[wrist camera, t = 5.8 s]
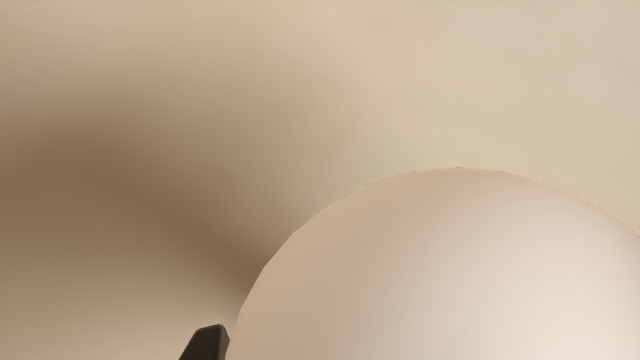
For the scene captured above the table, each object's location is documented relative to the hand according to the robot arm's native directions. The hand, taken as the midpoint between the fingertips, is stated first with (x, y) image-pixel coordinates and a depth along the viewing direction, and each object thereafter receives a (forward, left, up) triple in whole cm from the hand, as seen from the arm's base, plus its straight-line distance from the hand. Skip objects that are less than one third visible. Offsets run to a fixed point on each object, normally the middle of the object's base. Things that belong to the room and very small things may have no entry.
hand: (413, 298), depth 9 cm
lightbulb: (-1, -1, -7) cm, 7 cm away
